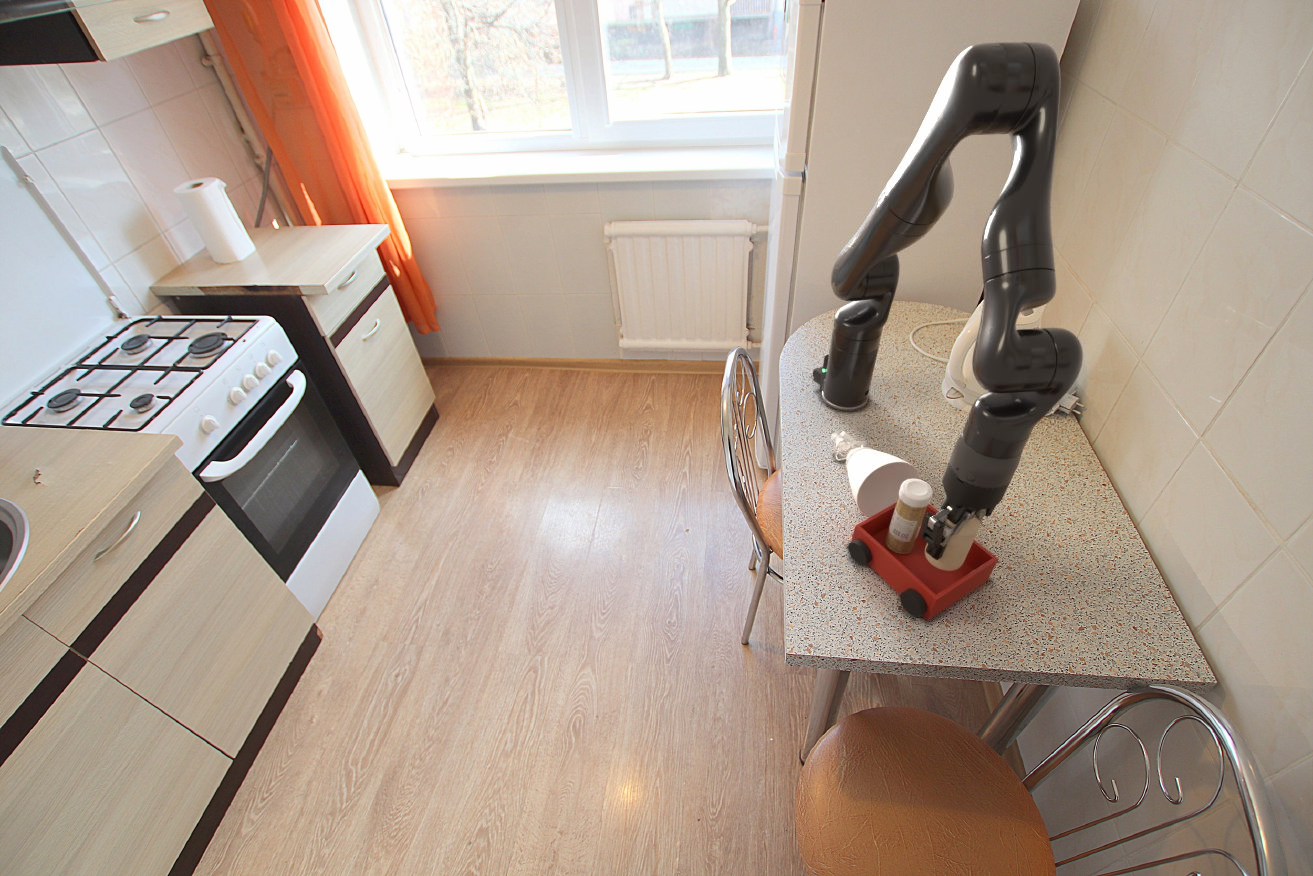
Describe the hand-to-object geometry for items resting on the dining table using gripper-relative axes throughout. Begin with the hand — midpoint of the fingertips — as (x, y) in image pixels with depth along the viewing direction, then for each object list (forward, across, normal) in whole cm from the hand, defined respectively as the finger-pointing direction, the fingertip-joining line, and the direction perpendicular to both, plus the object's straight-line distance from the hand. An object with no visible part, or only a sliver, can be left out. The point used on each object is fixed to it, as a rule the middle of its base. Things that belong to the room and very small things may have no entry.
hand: (947, 545), depth 91 cm
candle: (+3, 0, 0) cm, 3 cm away
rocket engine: (+8, -7, -21) cm, 24 cm away
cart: (+8, 0, -4) cm, 9 cm away
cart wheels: (+8, 0, -4) cm, 9 cm away
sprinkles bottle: (+8, 0, -7) cm, 11 cm away
